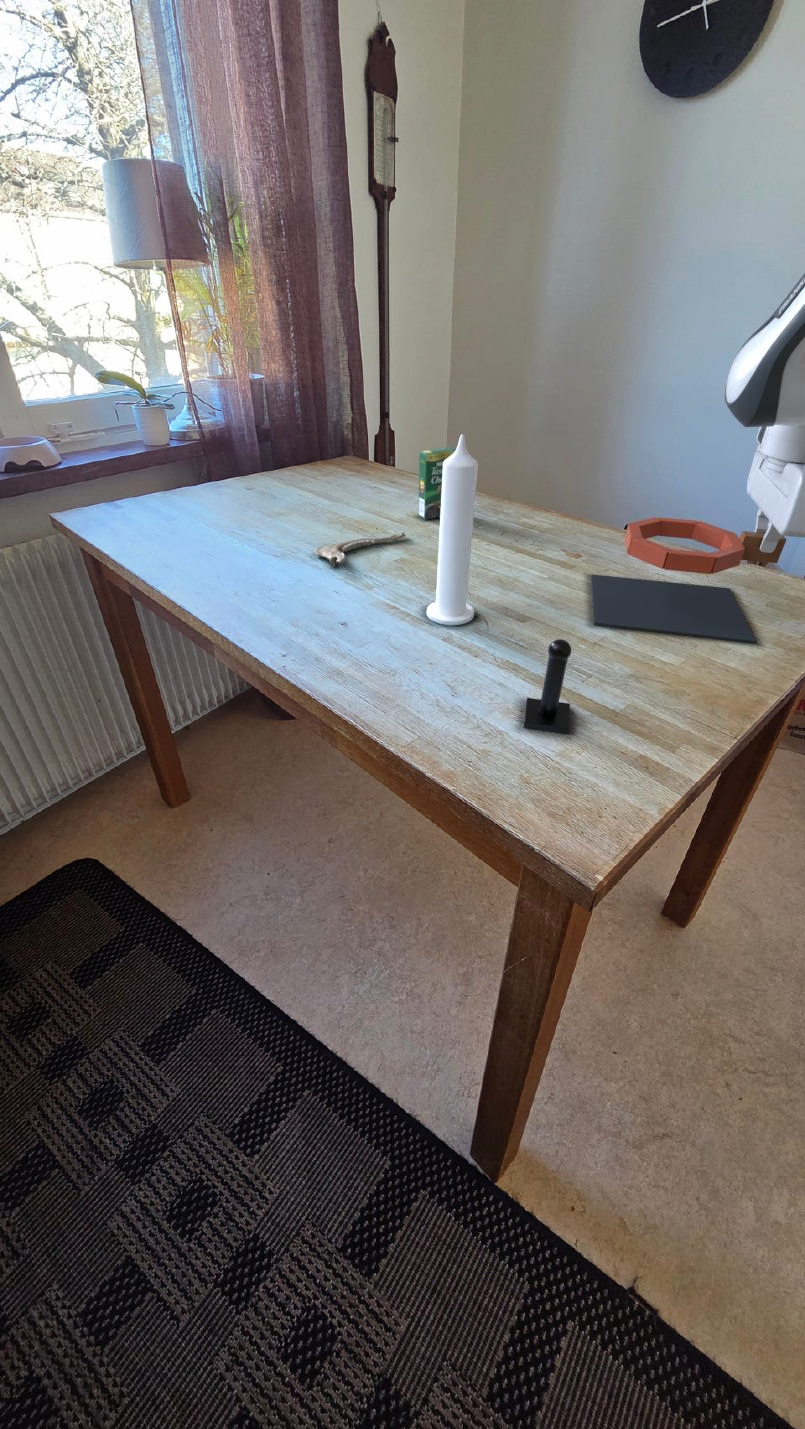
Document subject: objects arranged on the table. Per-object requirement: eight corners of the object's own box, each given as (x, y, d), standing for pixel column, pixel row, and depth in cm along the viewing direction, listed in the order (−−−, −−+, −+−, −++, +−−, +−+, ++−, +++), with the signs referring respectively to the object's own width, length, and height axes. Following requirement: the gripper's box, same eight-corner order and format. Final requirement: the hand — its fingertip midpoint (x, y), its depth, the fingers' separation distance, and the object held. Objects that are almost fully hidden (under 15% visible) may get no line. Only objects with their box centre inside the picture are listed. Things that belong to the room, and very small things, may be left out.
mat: (728, 590, 99) (729, 588, 98) (755, 643, 84) (756, 641, 84) (591, 576, 102) (591, 574, 102) (593, 625, 88) (594, 622, 88)
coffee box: (423, 521, 124) (425, 453, 116) (416, 516, 126) (418, 450, 118) (456, 515, 127) (461, 449, 119) (449, 511, 129) (453, 446, 121)
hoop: (762, 542, 92) (770, 519, 90) (790, 582, 80) (801, 557, 78) (622, 529, 95) (627, 507, 93) (629, 566, 83) (635, 541, 81)
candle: (450, 599, 94) (462, 426, 79) (483, 616, 90) (502, 435, 75) (416, 612, 90) (422, 433, 76) (449, 630, 86) (462, 443, 71)
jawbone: (301, 564, 106) (299, 552, 105) (369, 532, 120) (368, 522, 119) (341, 572, 102) (340, 560, 100) (407, 538, 116) (407, 527, 114)
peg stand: (568, 708, 71) (585, 632, 65) (568, 734, 67) (586, 655, 61) (526, 702, 72) (538, 627, 66) (523, 727, 68) (536, 649, 62)
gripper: (860, 463, 68) (809, 578, 77) (805, 427, 84) (767, 525, 93) (799, 459, 69) (755, 572, 78) (756, 424, 85) (724, 521, 94)
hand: (762, 546), depth 85 cm, fingers closed on hoop, 2 cm apart
